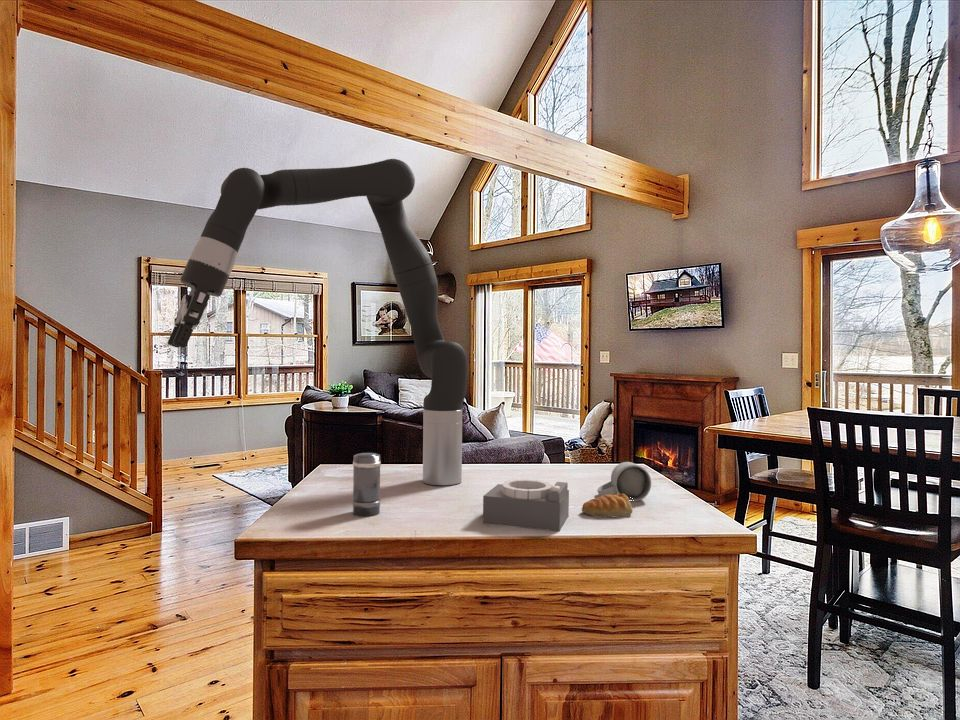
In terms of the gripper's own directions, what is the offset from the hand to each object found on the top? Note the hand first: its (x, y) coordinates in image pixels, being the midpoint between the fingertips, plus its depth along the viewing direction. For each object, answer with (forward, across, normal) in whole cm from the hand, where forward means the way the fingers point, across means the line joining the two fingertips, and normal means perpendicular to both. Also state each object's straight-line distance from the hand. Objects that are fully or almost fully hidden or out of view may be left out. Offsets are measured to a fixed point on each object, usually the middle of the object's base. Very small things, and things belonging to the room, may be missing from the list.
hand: (175, 346), depth 111 cm
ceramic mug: (0, -33, -89) cm, 95 cm away
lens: (+18, -16, -40) cm, 47 cm away
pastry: (+4, -40, -78) cm, 88 cm away
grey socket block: (+10, -36, -62) cm, 73 cm away
